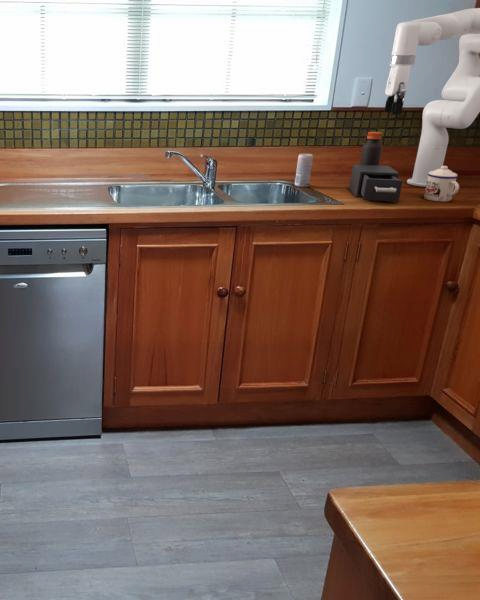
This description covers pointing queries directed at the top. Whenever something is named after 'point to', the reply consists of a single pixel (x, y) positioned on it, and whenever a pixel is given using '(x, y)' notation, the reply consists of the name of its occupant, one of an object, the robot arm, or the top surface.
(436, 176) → the teacup with lid
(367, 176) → the black drawer unit
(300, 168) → the energy drink
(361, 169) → the dark drawer box
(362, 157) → the bottle
